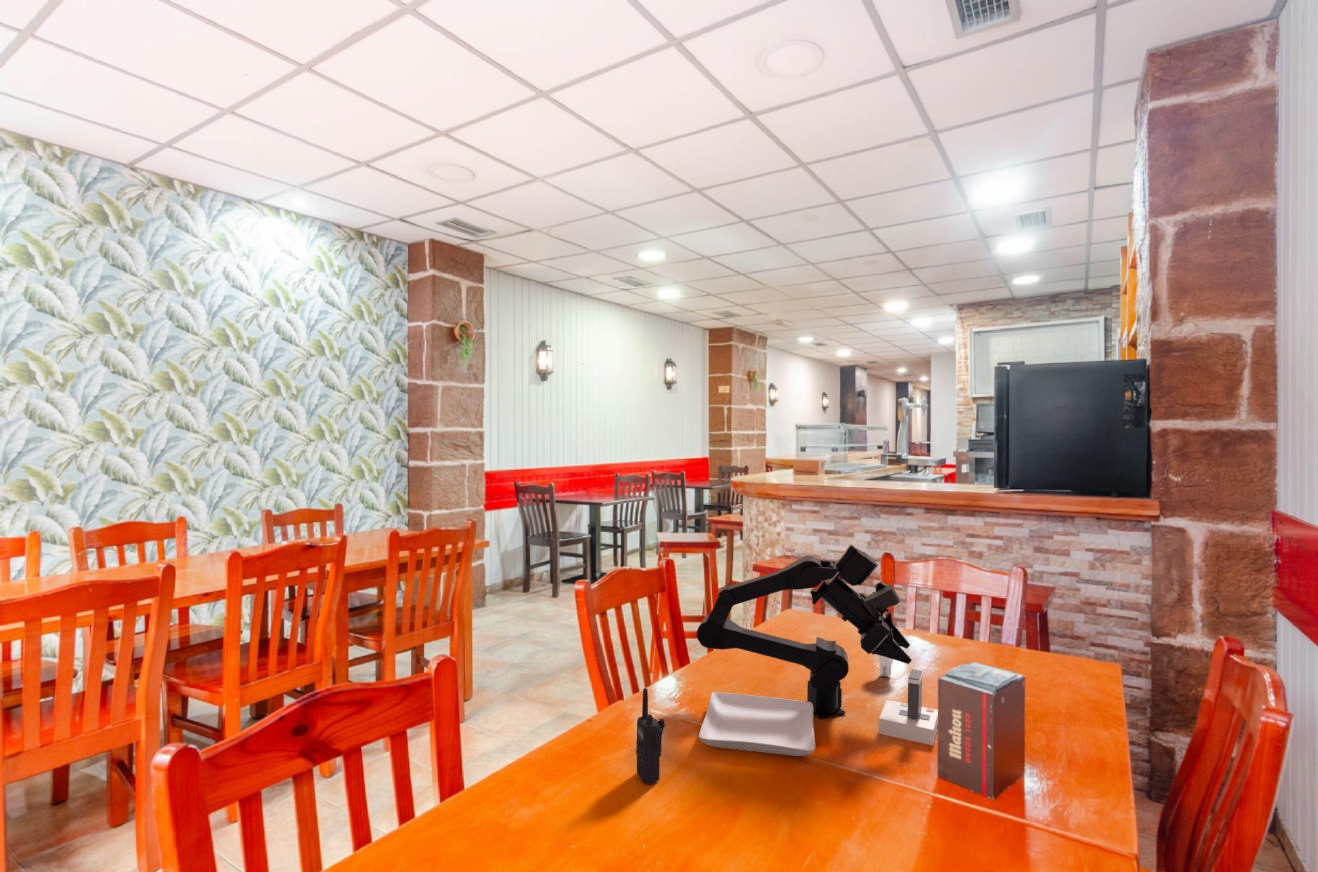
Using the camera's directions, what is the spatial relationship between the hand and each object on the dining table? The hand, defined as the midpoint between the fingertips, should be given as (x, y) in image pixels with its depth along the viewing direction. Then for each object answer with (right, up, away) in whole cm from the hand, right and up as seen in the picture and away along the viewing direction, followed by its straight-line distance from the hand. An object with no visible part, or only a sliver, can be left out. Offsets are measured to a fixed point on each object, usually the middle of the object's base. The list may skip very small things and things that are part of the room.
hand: (909, 654), depth 136 cm
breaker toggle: (0, -11, -3) cm, 11 cm away
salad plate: (-31, -14, -5) cm, 35 cm away
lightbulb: (+4, -14, +25) cm, 29 cm away
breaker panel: (-1, -14, -3) cm, 14 cm away
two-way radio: (-52, -14, -22) cm, 58 cm away
